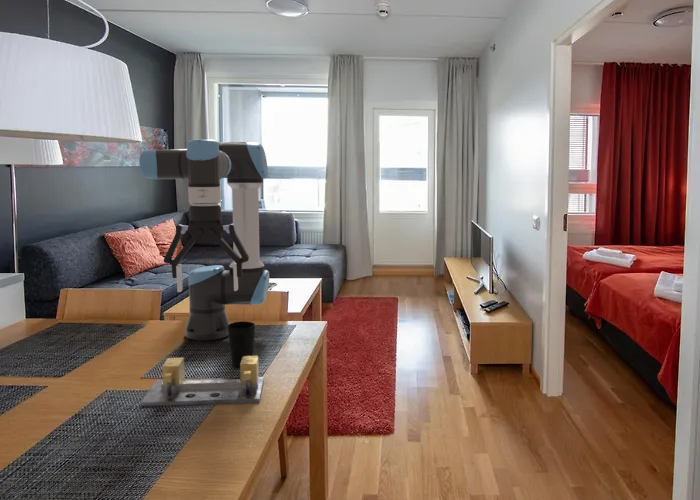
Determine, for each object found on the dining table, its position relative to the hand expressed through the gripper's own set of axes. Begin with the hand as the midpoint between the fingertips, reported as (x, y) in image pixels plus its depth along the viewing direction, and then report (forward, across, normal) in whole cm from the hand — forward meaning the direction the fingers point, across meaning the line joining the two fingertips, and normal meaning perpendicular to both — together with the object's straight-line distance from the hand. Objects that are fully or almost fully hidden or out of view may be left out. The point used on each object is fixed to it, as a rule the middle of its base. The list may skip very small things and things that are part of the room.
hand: (208, 290), depth 135 cm
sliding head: (+25, -9, -1) cm, 27 cm away
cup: (+26, +6, +18) cm, 33 cm away
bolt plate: (+26, -1, -1) cm, 26 cm away
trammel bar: (+25, 0, -1) cm, 25 cm away
